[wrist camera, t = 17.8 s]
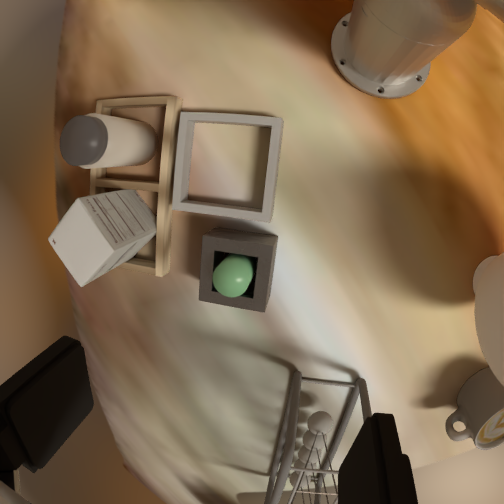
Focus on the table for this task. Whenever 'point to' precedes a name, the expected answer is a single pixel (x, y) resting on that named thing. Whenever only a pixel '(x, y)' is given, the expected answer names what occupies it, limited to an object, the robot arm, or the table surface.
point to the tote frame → (185, 160)
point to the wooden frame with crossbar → (162, 187)
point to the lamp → (490, 312)
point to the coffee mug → (480, 411)
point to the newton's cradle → (309, 443)
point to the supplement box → (102, 233)
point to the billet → (107, 141)
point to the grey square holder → (242, 244)
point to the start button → (234, 274)
